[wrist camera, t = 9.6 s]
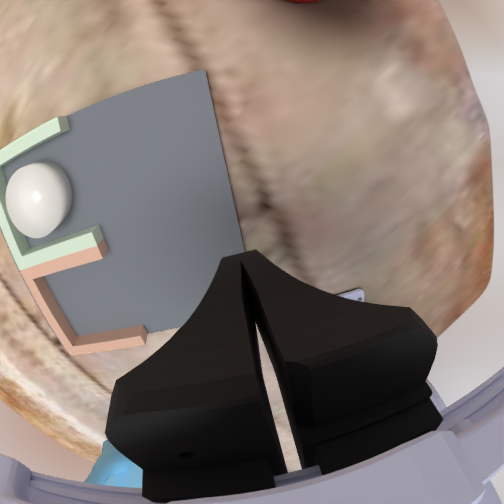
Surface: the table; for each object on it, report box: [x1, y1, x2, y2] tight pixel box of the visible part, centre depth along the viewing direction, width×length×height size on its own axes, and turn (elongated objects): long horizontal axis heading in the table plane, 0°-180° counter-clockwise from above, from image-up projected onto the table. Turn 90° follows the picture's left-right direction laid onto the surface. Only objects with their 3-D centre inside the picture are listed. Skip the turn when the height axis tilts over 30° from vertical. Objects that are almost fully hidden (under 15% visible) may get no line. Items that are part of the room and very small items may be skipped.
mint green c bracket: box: [0, 116, 103, 270], centre depth 15 cm, size 9×8×1 cm
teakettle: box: [84, 440, 143, 488], centre depth 25 cm, size 19×19×15 cm
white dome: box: [6, 160, 73, 238], centre depth 15 cm, size 5×5×2 cm
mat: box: [0, 69, 245, 347], centre depth 19 cm, size 18×19×1 cm
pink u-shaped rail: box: [20, 238, 147, 355], centre depth 20 cm, size 9×8×1 cm
